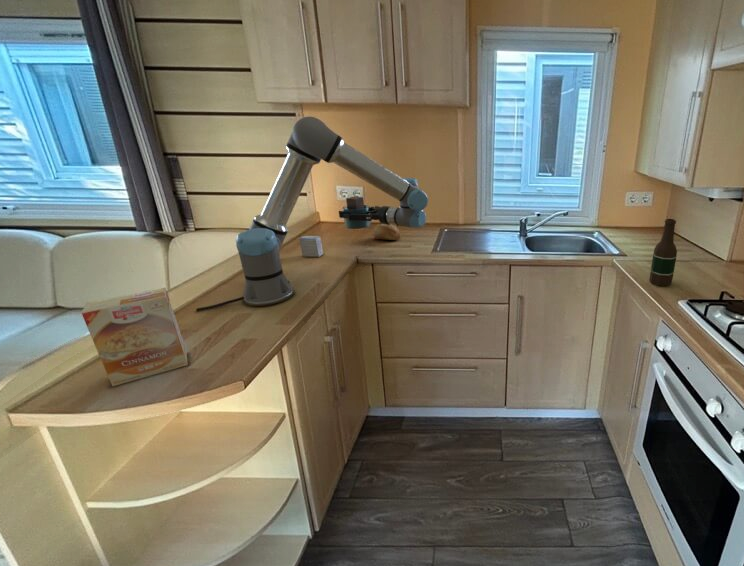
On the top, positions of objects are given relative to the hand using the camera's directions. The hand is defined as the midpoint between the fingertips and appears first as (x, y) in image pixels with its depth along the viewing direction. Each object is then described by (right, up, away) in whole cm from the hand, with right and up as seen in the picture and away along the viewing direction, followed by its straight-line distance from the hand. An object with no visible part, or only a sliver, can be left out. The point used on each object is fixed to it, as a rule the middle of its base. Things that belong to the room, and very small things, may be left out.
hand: (349, 211), depth 176 cm
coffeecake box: (-25, -52, -74) cm, 94 cm away
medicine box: (-19, -19, +8) cm, 28 cm away
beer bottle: (+124, -31, -25) cm, 131 cm away
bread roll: (+9, -9, +31) cm, 34 cm away
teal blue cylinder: (+4, -6, +1) cm, 7 cm away
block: (+4, +1, -2) cm, 4 cm away
